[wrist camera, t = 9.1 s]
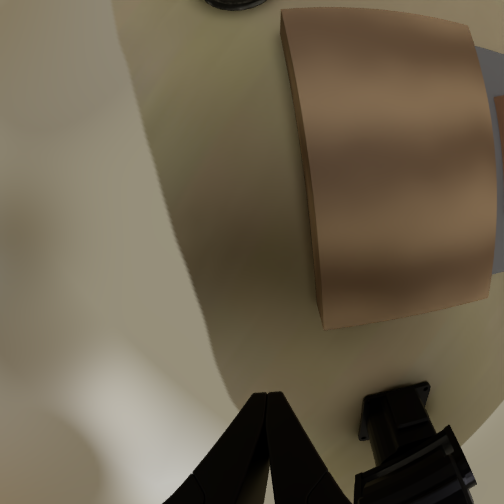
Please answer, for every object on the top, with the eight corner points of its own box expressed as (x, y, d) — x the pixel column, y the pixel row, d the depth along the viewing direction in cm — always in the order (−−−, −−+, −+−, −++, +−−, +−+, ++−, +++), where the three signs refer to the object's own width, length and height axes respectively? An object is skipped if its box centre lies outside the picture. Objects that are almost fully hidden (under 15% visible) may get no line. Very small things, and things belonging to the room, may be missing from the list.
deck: (463, 278, 19) (487, 297, 15) (316, 303, 20) (323, 330, 17) (443, 40, 13) (467, 25, 10) (280, 33, 15) (281, 9, 11)
